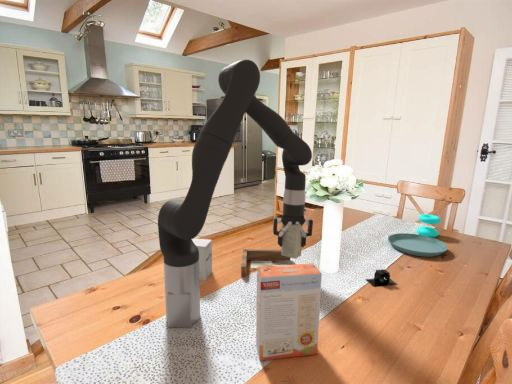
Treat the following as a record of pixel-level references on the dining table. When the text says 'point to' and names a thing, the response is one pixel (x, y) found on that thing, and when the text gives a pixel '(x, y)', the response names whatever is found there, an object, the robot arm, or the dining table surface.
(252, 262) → the wooden corner frame
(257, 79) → the robot arm
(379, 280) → the black tapered holder
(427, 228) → the donuts
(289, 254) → the skincare box
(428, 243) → the saucer
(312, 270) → the cracker box
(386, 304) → the dining table surface
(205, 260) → the supplement box
